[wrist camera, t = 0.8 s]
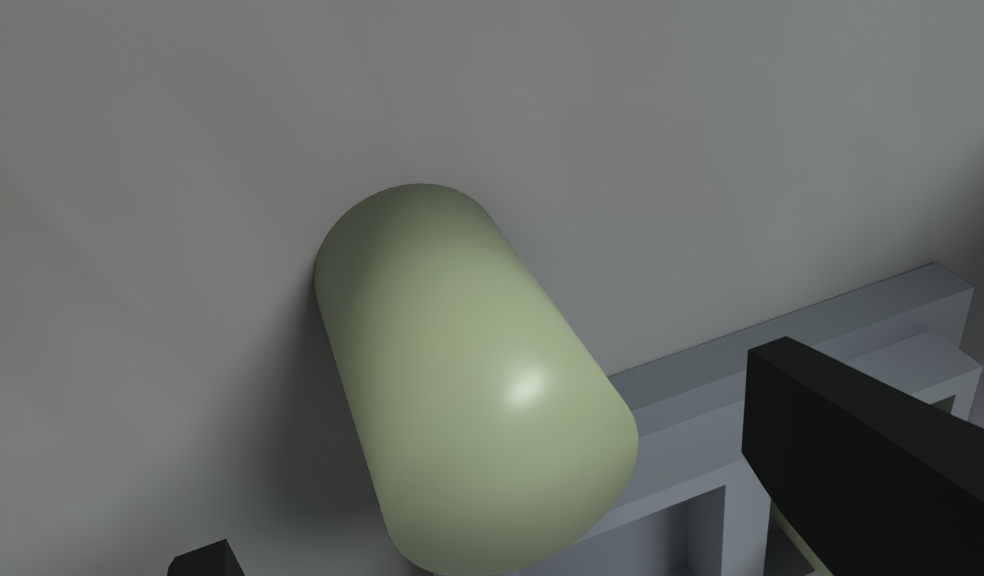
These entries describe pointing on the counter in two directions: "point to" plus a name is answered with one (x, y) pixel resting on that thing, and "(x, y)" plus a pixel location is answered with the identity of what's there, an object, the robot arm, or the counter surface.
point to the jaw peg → (466, 386)
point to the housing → (719, 425)
